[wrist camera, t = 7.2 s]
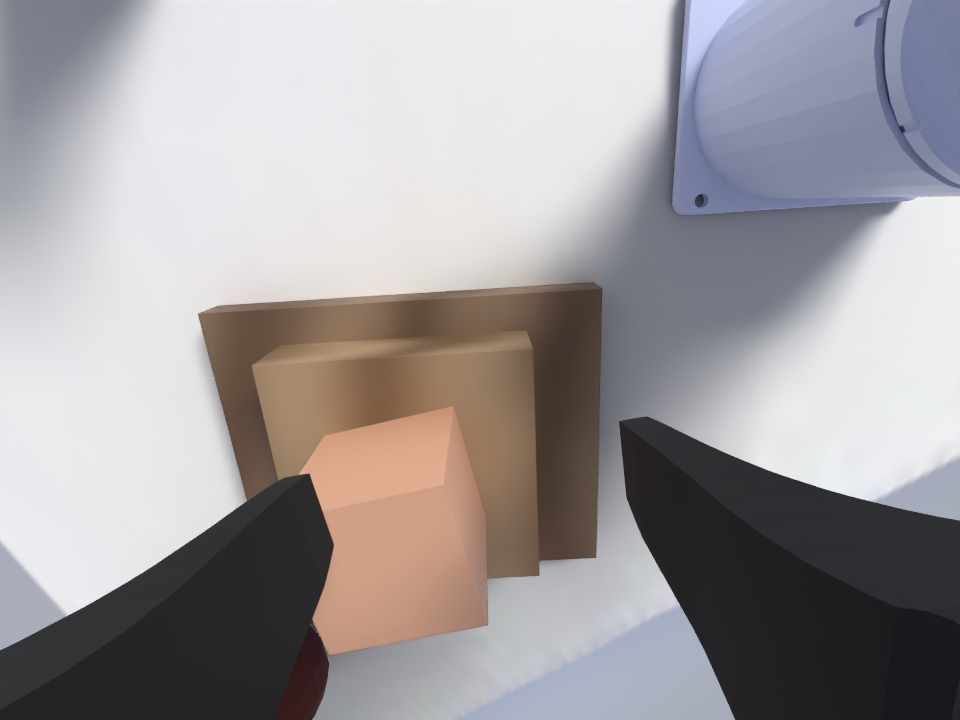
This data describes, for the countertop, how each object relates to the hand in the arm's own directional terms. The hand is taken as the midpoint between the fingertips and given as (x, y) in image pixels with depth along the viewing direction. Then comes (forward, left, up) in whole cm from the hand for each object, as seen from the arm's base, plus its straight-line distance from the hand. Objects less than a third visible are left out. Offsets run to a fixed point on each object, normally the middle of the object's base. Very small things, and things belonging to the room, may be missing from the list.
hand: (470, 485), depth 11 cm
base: (+3, +4, -10) cm, 11 cm away
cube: (+3, +4, -6) cm, 8 cm away
